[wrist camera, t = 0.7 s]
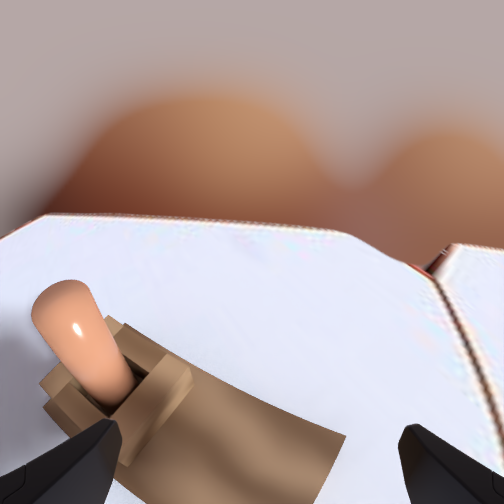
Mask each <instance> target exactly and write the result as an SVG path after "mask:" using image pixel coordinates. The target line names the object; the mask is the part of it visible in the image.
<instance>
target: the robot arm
mask: <svg viewBox="0 0 504 504" xmlns="http://www.w3.org/2000/svg"><path fill="white" fill-rule="evenodd" d="M121 446H122V435H121V432H120V429H119V426H118V423H117V421H116V420H113V419H109V418H103V419H101V420H99V421H98V422H96V423H95V424H93V425H91V426H90V427H88V428H86V429H85V430H83V431H82V432H80V433H78V434H77V435H75V436H73V437H72V438H70V439H68V440H67V441H65V442H63V443H62V444H60V445H58V446H56V447H55V448H53V449H51V450H50V451H48V452H46V453H44V454H43V455H41V456H39V457H37V458H36V459H34V460H32V461H30V462H29V463H27V464H26V465H23V466H21V467H19V468H18V469H16V470H14V471H12V472H10V473H8V474H6V475H3V476H1V477H0V504H104V503H105V500H106V497H107V495H108V492H109V489H110V487H111V484H112V481H113V478H114V474H115V470H116V466H117V462H118V458H119V454H120V450H121ZM398 450H399V455H400V460H401V465H402V470H403V476H404V481H405V485H406V489H407V492H408V495H409V498H410V502H411V504H504V477H502V476H500V475H499V474H497V473H495V472H494V471H493V472H492V470H490V469H489V468H487V467H485V466H484V465H482V464H480V463H479V462H477V461H476V460H474V459H472V458H471V457H469V456H468V455H466V454H464V453H463V452H461V451H460V450H458V449H456V448H455V447H453V446H452V445H450V444H449V443H447V442H446V441H444V440H442V439H441V438H439V437H438V436H436V435H435V434H433V433H432V432H430V431H429V430H427V429H426V428H424V427H423V426H421V425H420V424H412V425H407V426H406V427H405V429H404V431H403V433H402V436H401V438H400V440H399V443H398Z"/></svg>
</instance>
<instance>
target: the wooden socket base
mask: <svg viewBox="0 0 504 504" xmlns="http://www.w3.org/2000/svg"><path fill="white" fill-rule="evenodd" d="M104 321H105V323H106V325H107V327H108V329H109V331H110V332H111V334H112V336H113V338H114V340H115V342H116V344H117V346H118V347H119V349H120V351H121V353H122V355H123V356H124V358H125V360H126V362H127V363H128V365H129V367H130V369H131V370H132V372H133V374H134V375H135V377H136V379H137V380H138V382H139V384H140V385H139V386H138V387H137V388H136V389H135V390H134V391H133V393H132V394H131V395H130V396H129V397H128V398H127V399H126V400H125V402H124V403H123V404H122V405H121V406H120V407H119V408H118V410H117V411H116V412H115V413H114V414H113V415H112V414H109V413H107V412H106V411H104V410H103V409H102V408H101V407H100V406H99V405H98V404H97V402H96V401H95V400H94V399H93V398H92V397H91V396H90V395H89V394H88V393H87V392H86V390H85V389H84V388H83V387H82V386H81V385H80V384H79V382H78V381H77V380H76V379H75V378H74V377H73V375H72V374H71V373H70V372H69V371H68V369H67V368H66V367H65V366H64V364H63V363H62V362H60V363H59V364H58V365H57V366H56V367H55V368H54V369H53V370H52V371H51V372H50V373H49V374H48V375H47V376H46V377H45V378H44V379H43V380H42V381H41V382H40V383H39V385H40V386H41V387H42V388H43V389H44V390H45V392H46V393H47V394H48V395H49V396H50V397H51V399H50V400H49V401H48V402H47V403H46V404H45V405H44V406H43V409H44V410H45V411H46V412H47V413H48V414H49V416H50V417H51V418H52V419H53V420H54V421H55V422H56V423H57V424H58V426H59V427H60V428H61V429H62V430H63V431H64V432H65V433H66V434H67V435H68V436H69V437H70V438H72V437H73V436H75V435H77V434H78V433H80V432H82V431H83V430H85V429H86V428H88V427H90V426H91V425H93V424H95V423H96V422H98V421H99V420H101V419H103V418H109V419H113V420H116V421H117V423H118V426H119V429H120V432H121V435H122V446H121V450H120V454H119V458H118V462H117V466H116V470H115V474H114V479H115V480H116V481H118V482H119V483H120V484H121V485H123V486H124V487H125V488H126V489H128V490H129V491H130V492H132V493H133V494H134V495H135V496H137V497H138V498H139V499H141V500H142V501H144V502H145V503H146V504H313V503H314V501H315V499H316V497H317V496H318V494H319V492H320V490H321V488H322V486H323V484H324V482H325V480H326V478H327V476H328V474H329V472H330V470H331V468H332V466H333V464H334V462H335V460H336V458H337V456H338V454H339V451H340V449H341V447H342V445H343V443H344V440H345V438H346V436H345V435H342V434H340V433H337V432H334V431H332V430H329V429H327V428H324V427H322V426H319V425H317V424H314V423H312V422H309V421H307V420H304V419H302V418H300V417H297V416H295V415H293V414H290V413H288V412H286V411H284V410H281V409H279V408H277V407H275V406H273V405H270V404H268V403H266V402H264V401H262V400H260V399H258V398H256V397H254V396H251V395H249V394H247V393H245V392H243V391H241V390H239V389H237V388H235V387H233V386H232V385H230V384H228V383H226V382H224V381H222V380H220V379H218V378H216V377H214V376H213V375H211V374H209V373H207V372H205V371H203V370H202V369H200V368H198V367H196V366H194V365H193V364H191V363H189V362H187V361H186V360H184V359H182V358H181V357H179V356H177V355H175V354H174V353H172V352H170V351H169V350H167V349H165V348H164V347H162V346H161V345H159V344H157V343H156V342H154V341H152V340H151V339H149V338H148V337H146V336H145V335H143V334H141V333H140V332H138V331H137V330H135V329H134V328H132V327H131V326H129V325H128V324H126V323H124V324H123V325H122V324H121V323H119V322H118V321H116V320H115V319H113V318H112V317H111V316H109V315H108V316H107V317H106V318H105V319H104Z"/></svg>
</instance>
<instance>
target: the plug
mask: <svg viewBox="0 0 504 504" xmlns="http://www.w3.org/2000/svg"><path fill="white" fill-rule="evenodd" d="M31 317H32V322H33V324H34V325H35V327H36V328H37V330H38V331H39V333H40V334H41V335H42V337H43V338H44V340H45V341H46V342H47V344H48V345H49V346H50V348H51V349H52V350H53V352H54V353H55V354H56V355H57V357H58V358H59V359H60V361H61V362H62V363H63V364H64V366H65V367H66V368H67V369H68V371H69V372H70V373H71V374H72V375H73V377H74V378H75V379H76V380H77V381H78V382H79V384H80V385H81V386H82V387H83V388H84V389H85V390H86V392H87V393H88V394H89V395H90V396H91V397H92V398H93V399H94V400H95V401H96V402H97V404H98V405H99V406H100V407H101V408H102V409H103V410H104V411H106V412H107V413H109V414H112V415H113V414H114V413H115V412H116V411H117V410H118V408H119V407H120V406H121V405H122V404H123V403H124V402H125V400H126V399H127V398H128V397H129V396H130V395H131V394H132V393H133V391H134V390H135V389H136V388H137V387H138V386H139V385H140V384H139V382H138V380H137V379H136V377H135V375H134V374H133V372H132V370H131V369H130V367H129V365H128V363H127V362H126V360H125V358H124V356H123V355H122V353H121V351H120V349H119V347H118V346H117V344H116V342H115V340H114V338H113V336H112V334H111V332H110V331H109V329H108V327H107V325H106V323H105V321H104V319H103V317H102V315H101V313H100V311H99V309H98V307H97V304H96V302H95V300H94V298H93V296H92V294H91V292H90V290H89V288H88V286H87V285H86V284H84V283H83V282H81V281H77V280H64V281H60V282H57V283H55V284H53V285H51V286H50V287H48V288H47V289H45V290H44V291H43V292H42V293H41V294H40V295H39V296H38V298H37V299H36V301H35V303H34V305H33V308H32V312H31Z"/></svg>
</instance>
